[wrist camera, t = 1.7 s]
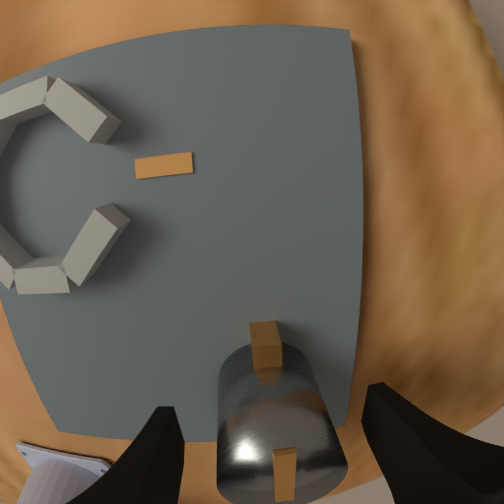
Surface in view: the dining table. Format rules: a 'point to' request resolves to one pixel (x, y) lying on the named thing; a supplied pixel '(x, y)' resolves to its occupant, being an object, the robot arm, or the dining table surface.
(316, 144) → the hub board
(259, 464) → the knob
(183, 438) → the robot arm
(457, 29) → the dining table surface
